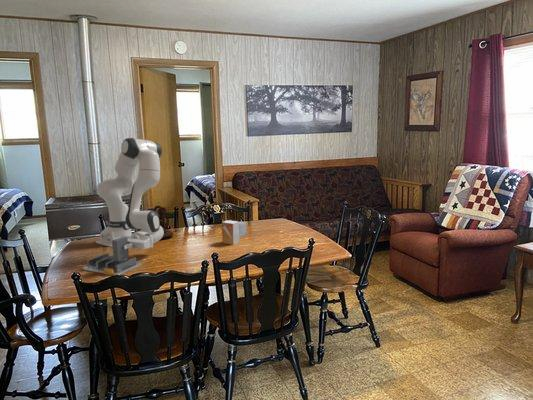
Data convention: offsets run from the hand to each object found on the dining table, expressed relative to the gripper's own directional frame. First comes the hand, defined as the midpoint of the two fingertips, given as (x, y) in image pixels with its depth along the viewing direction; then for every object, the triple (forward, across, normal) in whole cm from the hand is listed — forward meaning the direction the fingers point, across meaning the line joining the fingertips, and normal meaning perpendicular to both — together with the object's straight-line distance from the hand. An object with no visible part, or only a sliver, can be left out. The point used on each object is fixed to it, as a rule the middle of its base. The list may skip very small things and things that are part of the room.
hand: (119, 246), depth 192 cm
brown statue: (-55, -19, +12) cm, 60 cm away
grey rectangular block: (0, 0, +6) cm, 6 cm away
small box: (-60, +28, +12) cm, 67 cm away
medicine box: (-76, +26, +12) cm, 81 cm away
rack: (0, -6, +11) cm, 13 cm away
